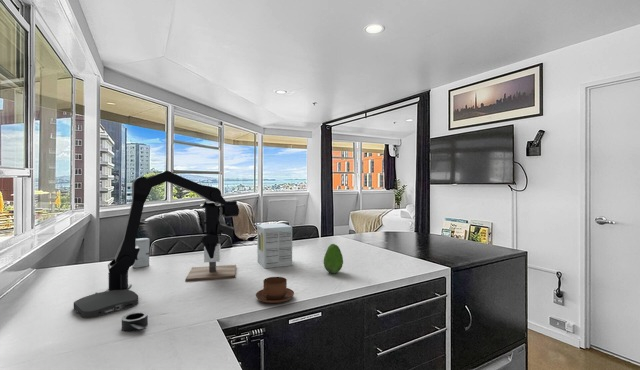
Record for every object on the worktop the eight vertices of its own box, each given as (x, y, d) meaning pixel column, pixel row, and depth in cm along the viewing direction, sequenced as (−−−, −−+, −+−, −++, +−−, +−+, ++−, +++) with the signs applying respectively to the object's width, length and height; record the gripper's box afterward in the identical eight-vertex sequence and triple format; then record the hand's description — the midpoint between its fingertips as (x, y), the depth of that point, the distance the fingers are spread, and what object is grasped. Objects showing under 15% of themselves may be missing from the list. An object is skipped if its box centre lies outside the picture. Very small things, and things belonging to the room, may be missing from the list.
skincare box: (134, 268, 136) (134, 240, 135) (131, 266, 139) (131, 239, 139) (150, 265, 140) (149, 238, 140) (147, 263, 143) (147, 237, 143)
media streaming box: (124, 294, 105) (124, 285, 105) (142, 305, 96) (142, 295, 96) (70, 308, 94) (70, 298, 94) (84, 322, 84) (84, 311, 84)
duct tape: (156, 317, 87) (156, 307, 87) (145, 335, 77) (145, 323, 77) (125, 320, 85) (125, 310, 85) (110, 338, 75) (109, 326, 75)
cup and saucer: (287, 308, 93) (287, 287, 93) (249, 305, 96) (249, 284, 95) (298, 294, 105) (298, 275, 105) (264, 291, 107) (264, 273, 107)
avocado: (335, 277, 123) (335, 246, 123) (320, 273, 128) (319, 244, 128) (346, 272, 129) (346, 243, 129) (331, 269, 134) (331, 241, 134)
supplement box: (256, 261, 147) (256, 224, 147) (283, 258, 152) (283, 222, 152) (264, 268, 135) (263, 228, 135) (293, 265, 140) (292, 226, 140)
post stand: (235, 277, 122) (235, 265, 122) (185, 281, 118) (185, 268, 118) (235, 267, 138) (235, 255, 137) (192, 269, 133) (192, 258, 133)
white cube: (219, 261, 125) (219, 246, 125) (204, 262, 124) (204, 247, 124) (220, 258, 131) (220, 243, 131) (205, 258, 130) (205, 244, 130)
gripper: (232, 220, 120) (232, 261, 120) (233, 215, 138) (233, 250, 139) (201, 221, 118) (201, 262, 118) (206, 216, 136) (207, 252, 136)
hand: (212, 256), depth 128 cm, fingers closed on white cube, 6 cm apart
